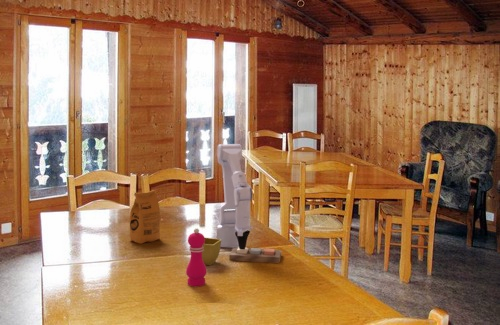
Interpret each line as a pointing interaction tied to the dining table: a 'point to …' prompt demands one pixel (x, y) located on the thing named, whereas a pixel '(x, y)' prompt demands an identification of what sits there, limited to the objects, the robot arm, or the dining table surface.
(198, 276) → the pepper mill
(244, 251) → the ivory key
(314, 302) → the dining table surface
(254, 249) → the slate key
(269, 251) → the brick key
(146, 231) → the coffee package
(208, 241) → the flower pot
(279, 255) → the walnut bezel
